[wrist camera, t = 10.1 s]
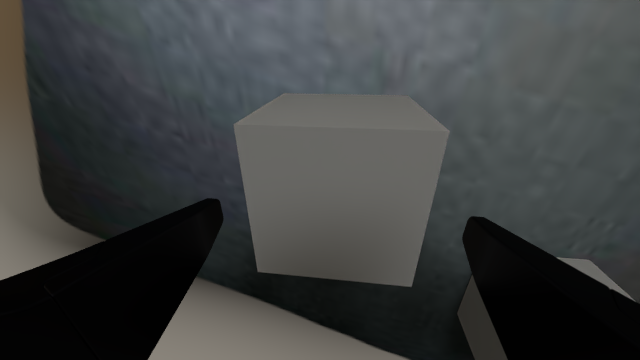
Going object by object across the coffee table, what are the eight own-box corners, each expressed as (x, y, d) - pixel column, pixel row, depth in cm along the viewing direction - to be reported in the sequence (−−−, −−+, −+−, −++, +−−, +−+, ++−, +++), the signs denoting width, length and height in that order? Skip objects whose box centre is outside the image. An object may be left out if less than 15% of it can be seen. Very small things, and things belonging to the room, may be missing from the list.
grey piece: (407, 95, 13) (449, 131, 7) (391, 202, 16) (411, 286, 10) (284, 93, 14) (233, 124, 8) (290, 196, 17) (257, 271, 11)
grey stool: (589, 259, 16) (716, 374, 10) (546, 322, 19) (627, 438, 14) (480, 251, 17) (545, 354, 11) (456, 313, 20) (498, 419, 14)
